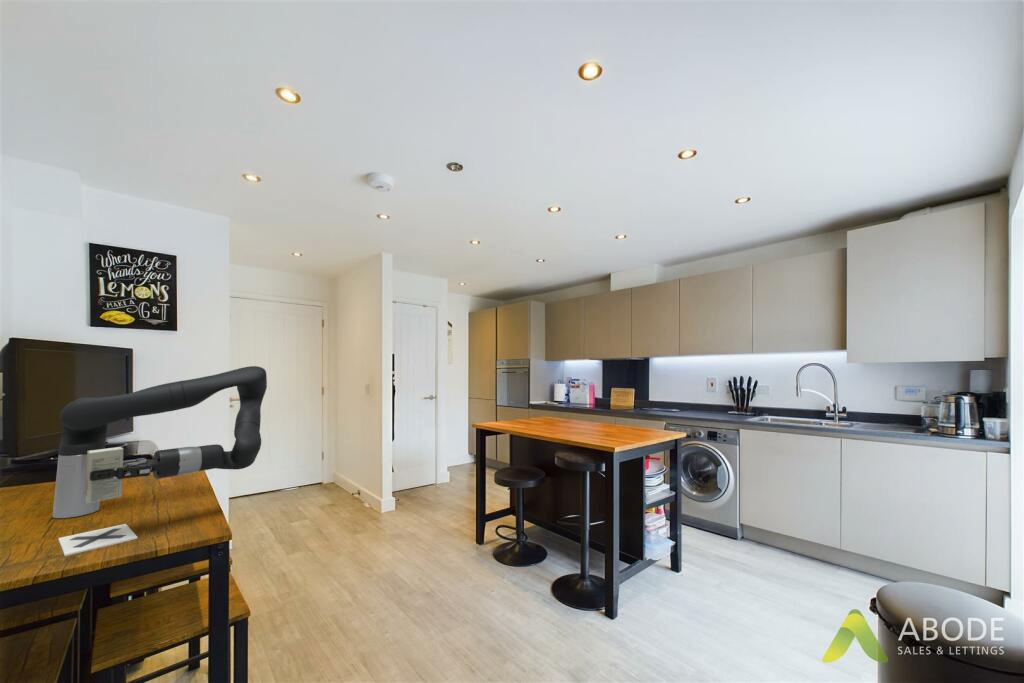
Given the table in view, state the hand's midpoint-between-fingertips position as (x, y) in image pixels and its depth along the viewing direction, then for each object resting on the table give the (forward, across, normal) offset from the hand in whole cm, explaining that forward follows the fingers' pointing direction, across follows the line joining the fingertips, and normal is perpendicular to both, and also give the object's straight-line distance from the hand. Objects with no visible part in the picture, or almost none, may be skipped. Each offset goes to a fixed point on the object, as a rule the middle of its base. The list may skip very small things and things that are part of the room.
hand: (89, 474), depth 97 cm
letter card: (-2, 0, +16) cm, 16 cm away
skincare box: (-3, 0, +7) cm, 7 cm away
